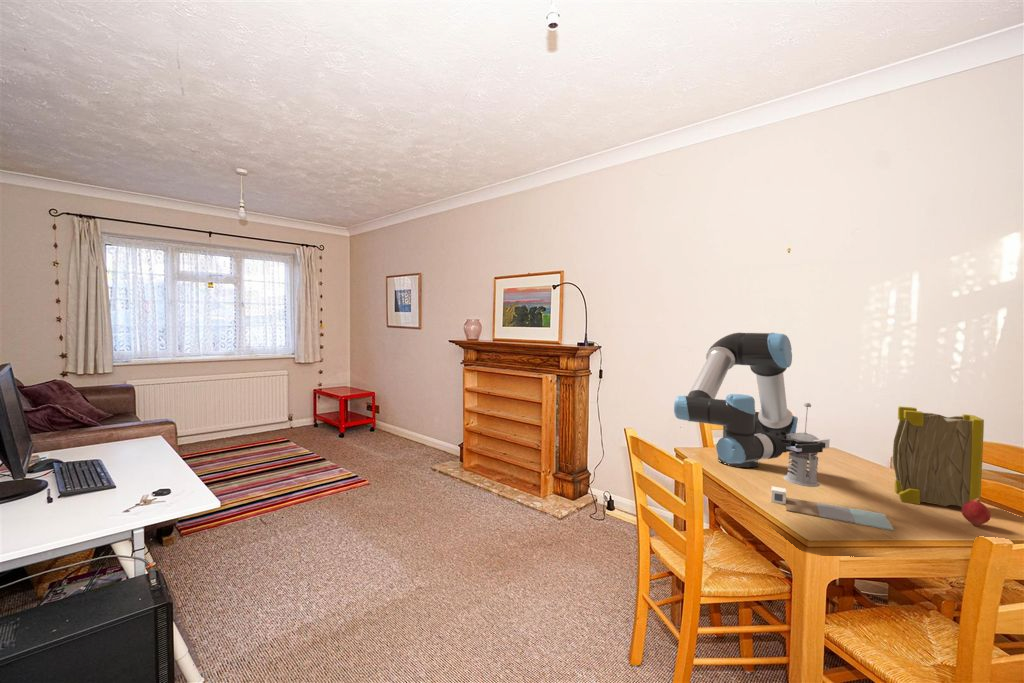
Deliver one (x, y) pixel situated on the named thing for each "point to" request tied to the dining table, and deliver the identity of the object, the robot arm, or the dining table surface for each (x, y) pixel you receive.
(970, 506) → the onion
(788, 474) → the french press
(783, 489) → the letter cube
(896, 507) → the dining table surface
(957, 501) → the decorative book
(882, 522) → the tile teal
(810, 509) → the tile walnut
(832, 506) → the tile slate
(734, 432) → the robot arm
